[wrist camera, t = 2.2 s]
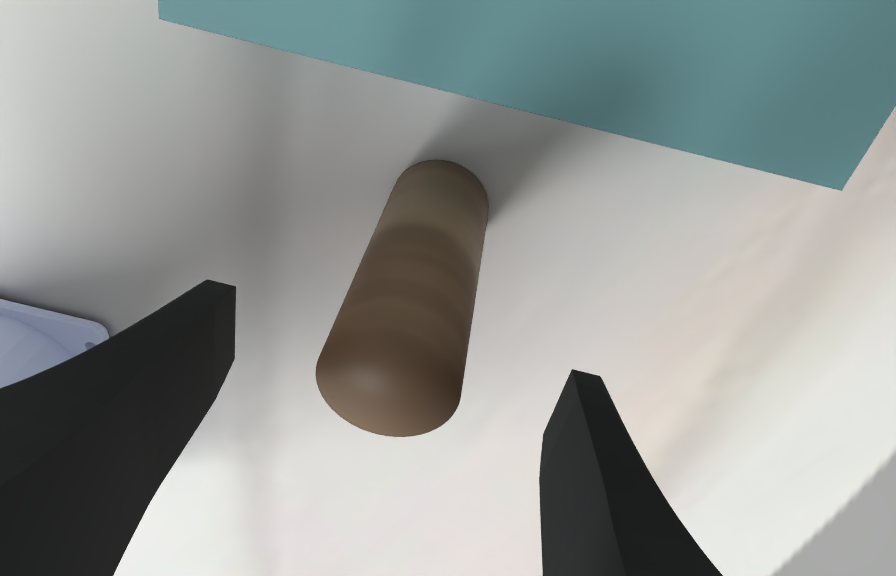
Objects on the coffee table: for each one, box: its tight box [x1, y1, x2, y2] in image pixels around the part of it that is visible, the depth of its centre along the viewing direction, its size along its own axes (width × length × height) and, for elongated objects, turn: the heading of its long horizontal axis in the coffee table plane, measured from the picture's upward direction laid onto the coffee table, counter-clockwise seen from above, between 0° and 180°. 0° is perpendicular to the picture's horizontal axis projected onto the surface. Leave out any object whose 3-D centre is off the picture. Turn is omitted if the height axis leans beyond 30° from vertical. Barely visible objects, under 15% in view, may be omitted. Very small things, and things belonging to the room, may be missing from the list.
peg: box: [316, 160, 489, 437], centre depth 16 cm, size 3×3×8 cm
